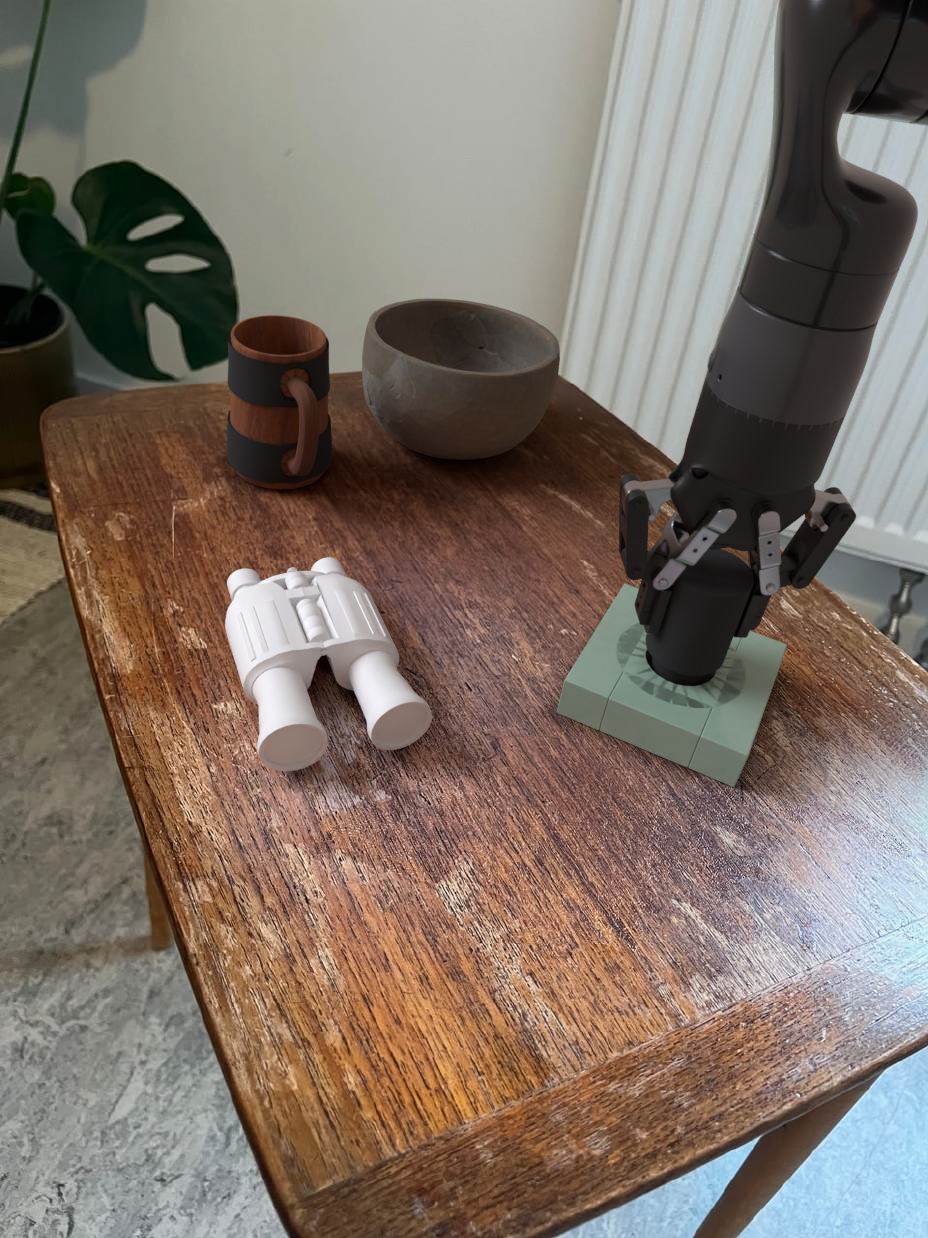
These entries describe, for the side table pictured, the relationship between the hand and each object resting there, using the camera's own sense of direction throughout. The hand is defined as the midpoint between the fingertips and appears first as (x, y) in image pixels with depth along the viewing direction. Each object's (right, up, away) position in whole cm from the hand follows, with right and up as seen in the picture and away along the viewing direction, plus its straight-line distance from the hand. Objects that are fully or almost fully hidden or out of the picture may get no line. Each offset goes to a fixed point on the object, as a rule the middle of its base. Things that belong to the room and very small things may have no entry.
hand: (693, 626), depth 62 cm
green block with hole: (-1, -5, +4) cm, 6 cm away
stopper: (-1, -4, +3) cm, 5 cm away
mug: (-30, +12, +19) cm, 37 cm away
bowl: (-16, +17, +28) cm, 36 cm away
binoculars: (-25, -3, +1) cm, 25 cm away
